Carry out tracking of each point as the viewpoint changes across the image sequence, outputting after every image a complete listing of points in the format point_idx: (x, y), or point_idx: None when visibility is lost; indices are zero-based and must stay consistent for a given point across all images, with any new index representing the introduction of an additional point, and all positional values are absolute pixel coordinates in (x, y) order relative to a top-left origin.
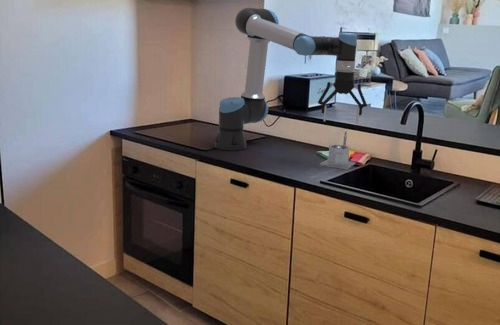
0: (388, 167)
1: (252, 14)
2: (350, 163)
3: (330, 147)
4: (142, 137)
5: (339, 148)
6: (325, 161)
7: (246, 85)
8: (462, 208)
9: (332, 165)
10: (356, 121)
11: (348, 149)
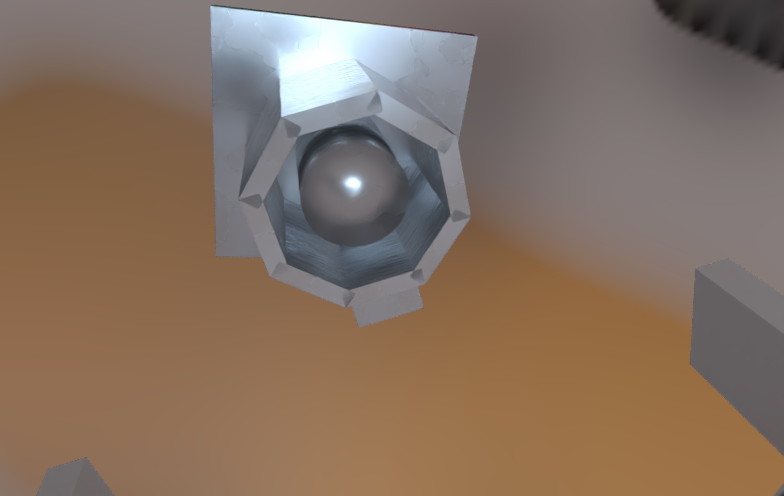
0: (734, 5)
1: None
2: (442, 114)
3: (282, 281)
4: None
5: (350, 156)
6: (228, 165)
7: None
8: None
9: None
10: (714, 387)
11: (460, 225)
